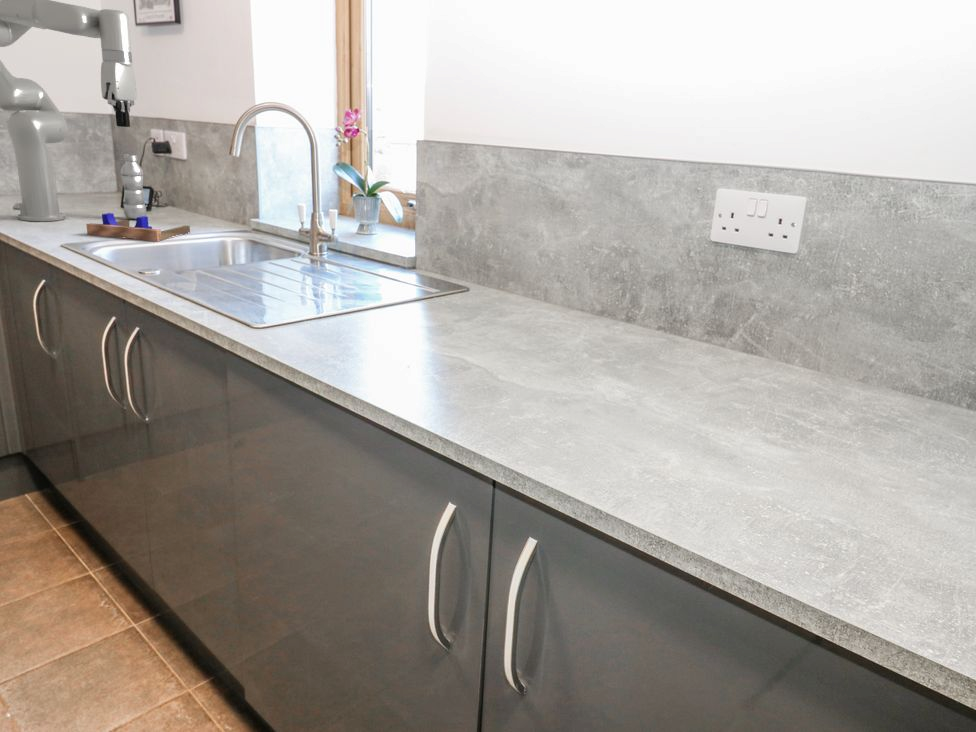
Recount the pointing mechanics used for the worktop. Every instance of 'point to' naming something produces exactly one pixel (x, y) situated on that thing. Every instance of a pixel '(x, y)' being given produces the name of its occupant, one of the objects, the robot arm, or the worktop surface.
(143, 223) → the cable clip
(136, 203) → the plastic bottle
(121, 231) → the guide channel
